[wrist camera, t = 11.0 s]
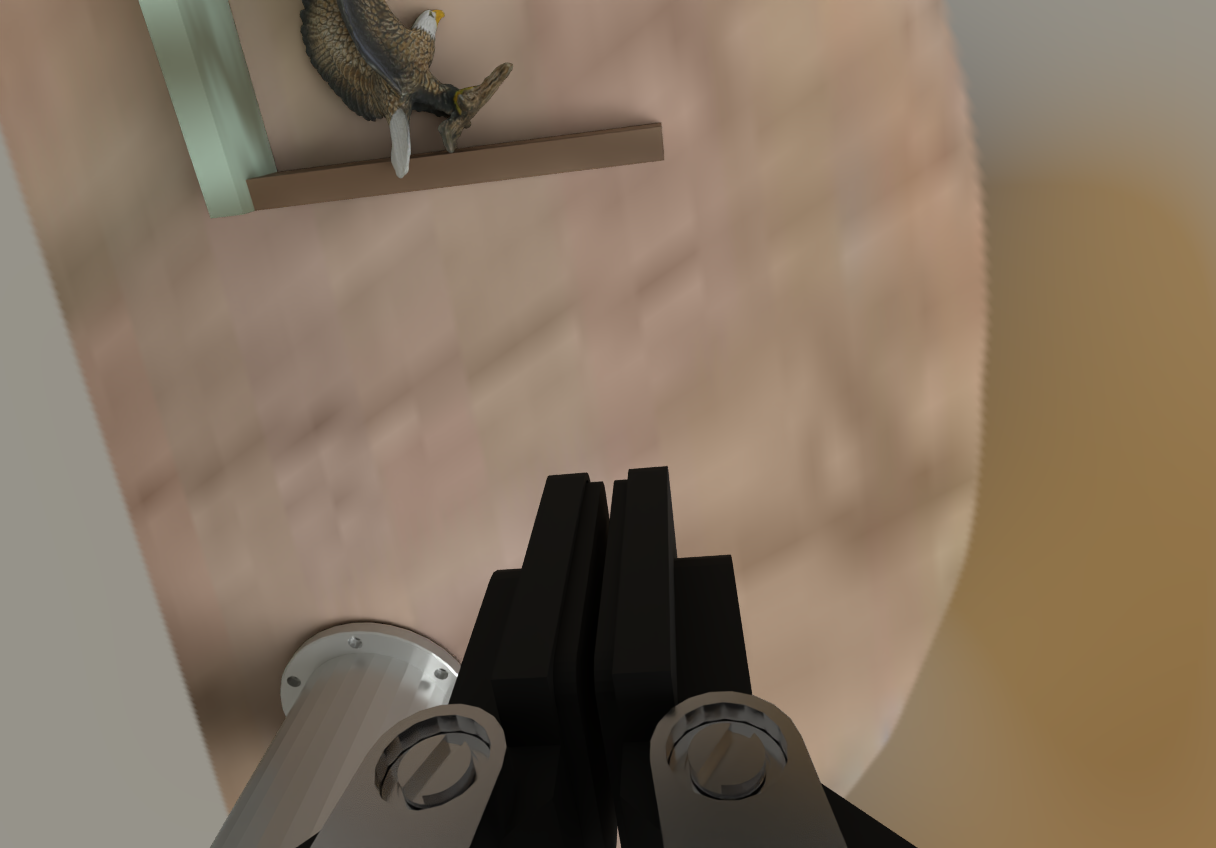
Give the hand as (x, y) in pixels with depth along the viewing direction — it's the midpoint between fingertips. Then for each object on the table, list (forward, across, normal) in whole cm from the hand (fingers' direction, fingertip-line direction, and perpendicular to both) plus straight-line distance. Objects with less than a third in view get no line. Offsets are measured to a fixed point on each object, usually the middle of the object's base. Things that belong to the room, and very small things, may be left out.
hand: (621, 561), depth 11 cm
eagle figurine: (+27, +10, -9) cm, 30 cm away
